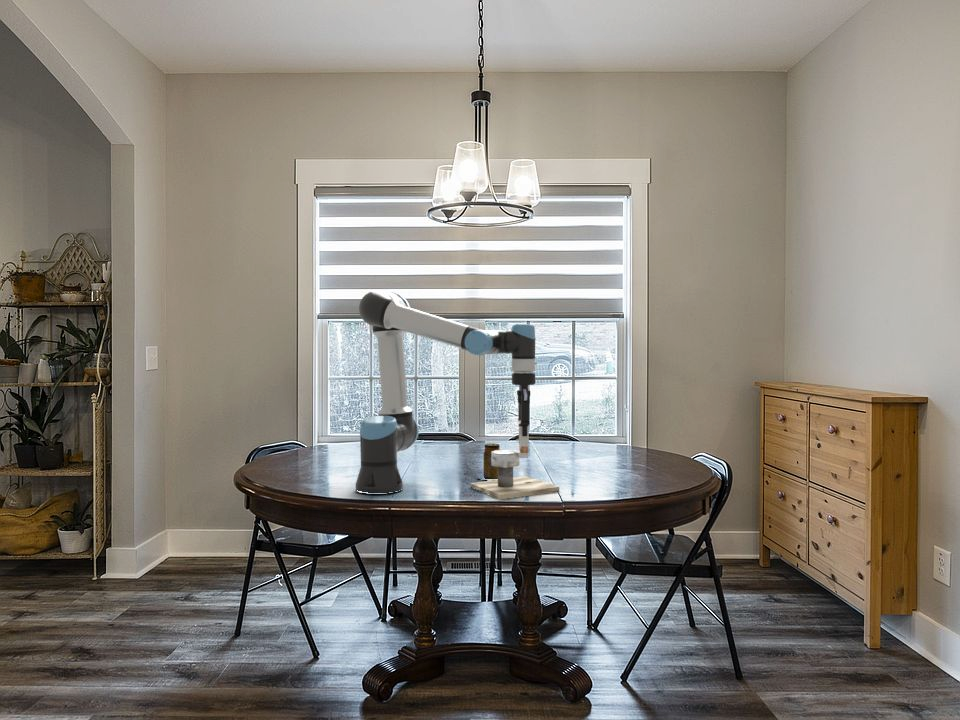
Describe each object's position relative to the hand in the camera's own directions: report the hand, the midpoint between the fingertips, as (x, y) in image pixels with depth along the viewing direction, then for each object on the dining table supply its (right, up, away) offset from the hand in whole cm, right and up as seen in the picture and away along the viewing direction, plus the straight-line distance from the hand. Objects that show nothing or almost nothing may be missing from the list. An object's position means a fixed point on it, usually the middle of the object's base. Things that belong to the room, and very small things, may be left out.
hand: (523, 445), depth 219 cm
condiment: (-10, -14, +19) cm, 26 cm away
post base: (-3, -15, +2) cm, 15 cm away
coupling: (-4, -6, 0) cm, 8 cm away
